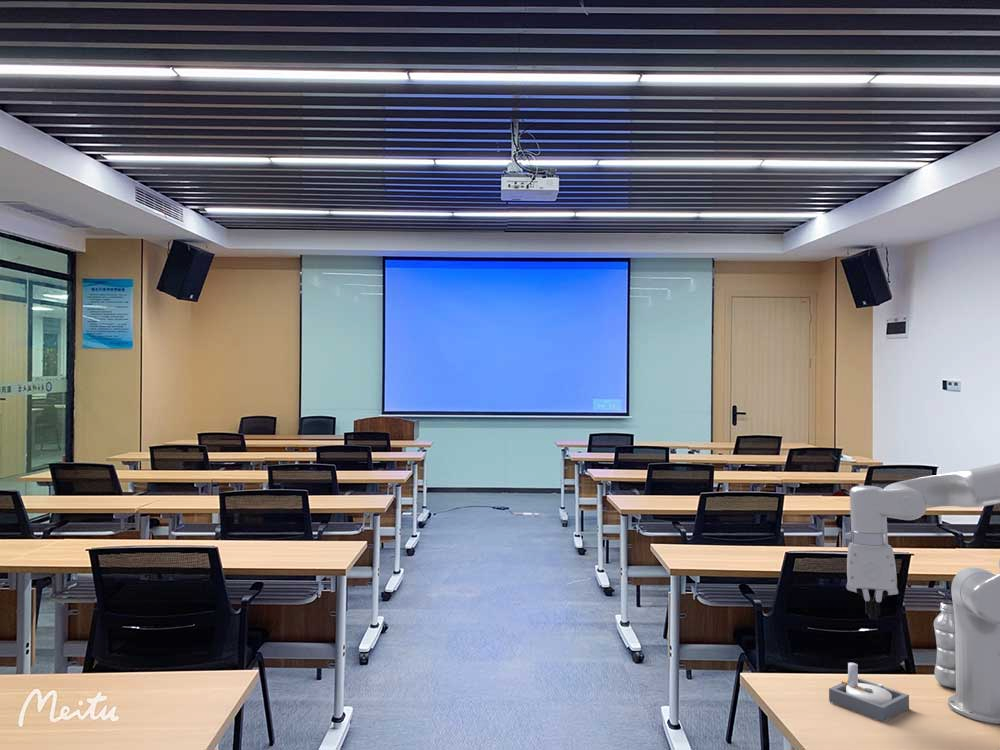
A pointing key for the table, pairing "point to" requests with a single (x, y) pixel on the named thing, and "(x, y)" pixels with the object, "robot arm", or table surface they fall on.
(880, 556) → the robot arm
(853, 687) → the white crank wheel
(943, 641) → the plastic bottle
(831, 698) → the housing
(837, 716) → the table surface
